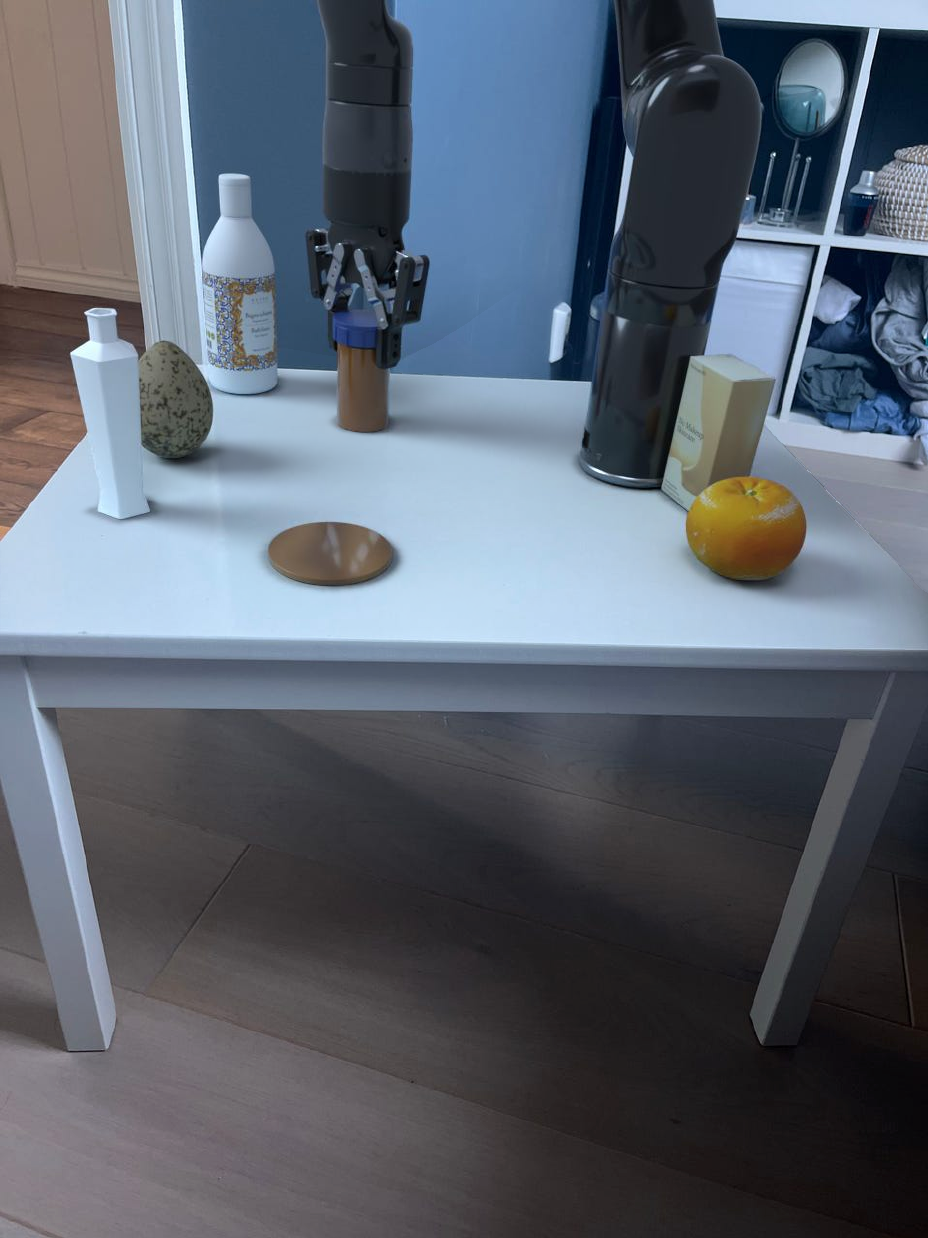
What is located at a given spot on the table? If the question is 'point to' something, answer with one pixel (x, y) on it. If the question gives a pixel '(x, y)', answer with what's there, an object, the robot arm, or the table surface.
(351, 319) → the lid
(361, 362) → the jar
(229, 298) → the bath foam
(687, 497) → the cosmetic box
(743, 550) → the fruit
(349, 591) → the table surface
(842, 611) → the table surface
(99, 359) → the perfume bottle
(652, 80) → the robot arm
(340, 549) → the coaster
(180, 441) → the decorative egg
